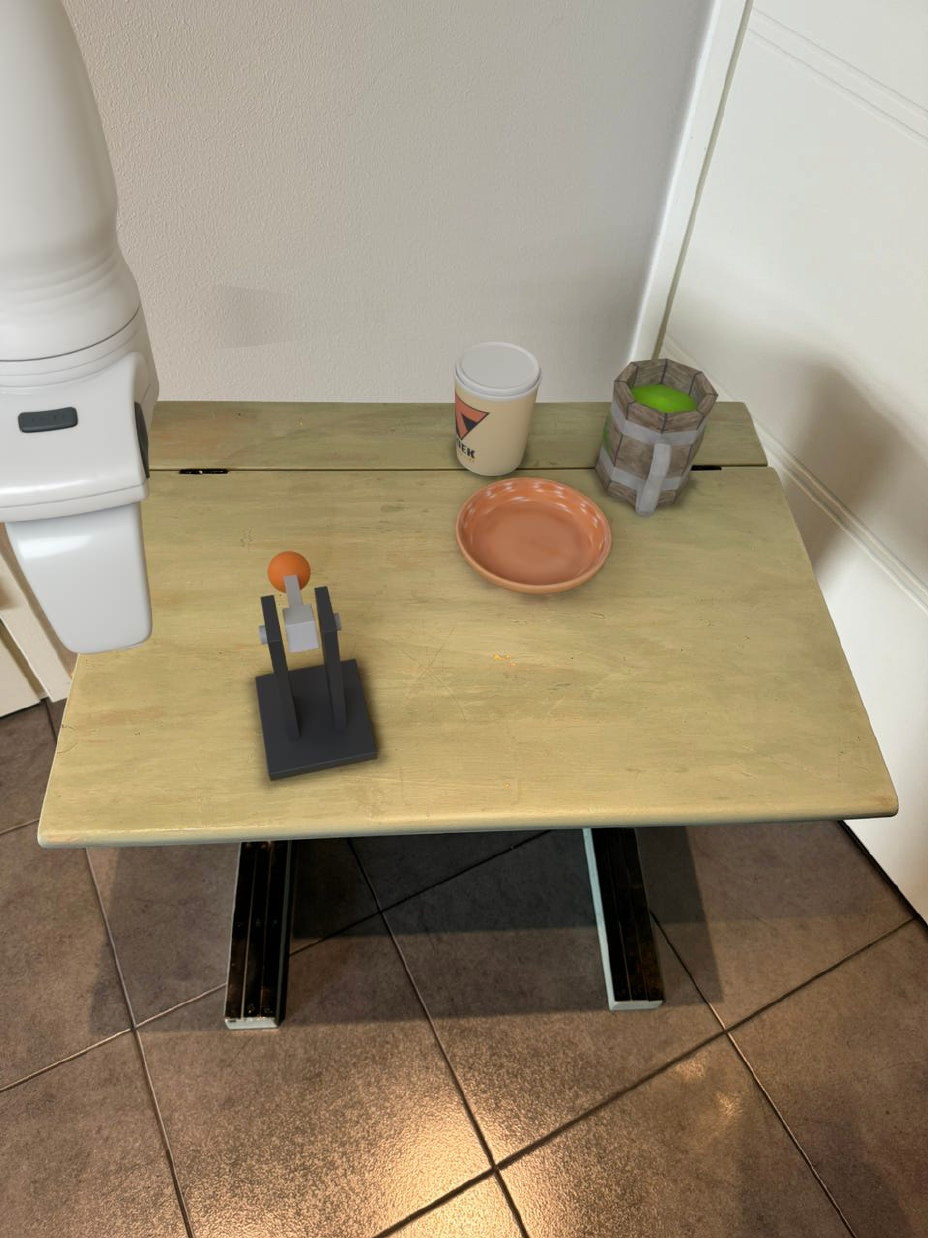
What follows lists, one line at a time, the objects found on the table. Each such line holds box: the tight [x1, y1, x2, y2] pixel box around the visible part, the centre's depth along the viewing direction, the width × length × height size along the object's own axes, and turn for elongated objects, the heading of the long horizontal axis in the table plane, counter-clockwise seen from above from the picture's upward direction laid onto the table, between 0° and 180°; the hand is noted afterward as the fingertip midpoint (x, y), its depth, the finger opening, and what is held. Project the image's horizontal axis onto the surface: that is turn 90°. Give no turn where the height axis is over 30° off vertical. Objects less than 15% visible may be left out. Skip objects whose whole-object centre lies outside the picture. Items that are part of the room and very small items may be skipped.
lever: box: [267, 550, 320, 654], centre depth 67 cm, size 13×4×4 cm, turn 15°
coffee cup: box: [452, 340, 543, 477], centre depth 92 cm, size 9×9×12 cm
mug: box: [593, 357, 719, 518], centre depth 89 cm, size 16×11×12 cm
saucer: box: [455, 476, 613, 595], centre depth 86 cm, size 16×16×3 cm
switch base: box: [254, 585, 378, 782], centre depth 67 cm, size 10×9×15 cm
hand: (119, 578), depth 48 cm, fingers open, 8 cm apart
